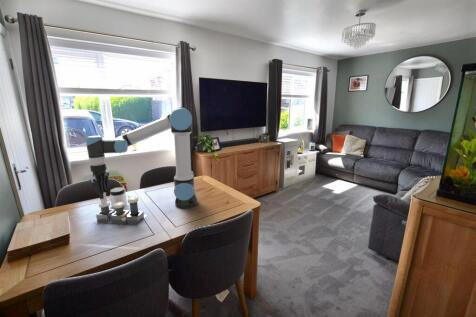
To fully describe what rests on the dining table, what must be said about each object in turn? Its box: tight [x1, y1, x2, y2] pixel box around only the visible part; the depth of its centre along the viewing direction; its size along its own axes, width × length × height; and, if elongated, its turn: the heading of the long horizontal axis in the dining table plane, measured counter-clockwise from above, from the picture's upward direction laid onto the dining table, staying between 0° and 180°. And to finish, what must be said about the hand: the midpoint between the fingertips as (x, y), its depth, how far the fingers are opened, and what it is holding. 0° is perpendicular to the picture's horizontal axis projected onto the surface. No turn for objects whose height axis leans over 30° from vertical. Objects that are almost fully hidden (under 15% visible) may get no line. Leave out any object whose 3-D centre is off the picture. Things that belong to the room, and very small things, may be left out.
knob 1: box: [98, 200, 111, 214], centre depth 130 cm, size 6×6×9 cm
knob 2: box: [127, 196, 139, 215], centre depth 127 cm, size 6×6×9 cm
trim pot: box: [120, 213, 127, 224], centre depth 125 cm, size 3×3×5 cm
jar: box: [109, 187, 128, 208], centre depth 146 cm, size 9×8×12 cm
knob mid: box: [113, 202, 126, 215], centre depth 129 cm, size 6×6×9 cm
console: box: [93, 208, 148, 227], centre depth 130 cm, size 26×12×5 cm, turn 85°
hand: (104, 202), depth 128 cm, fingers closed
